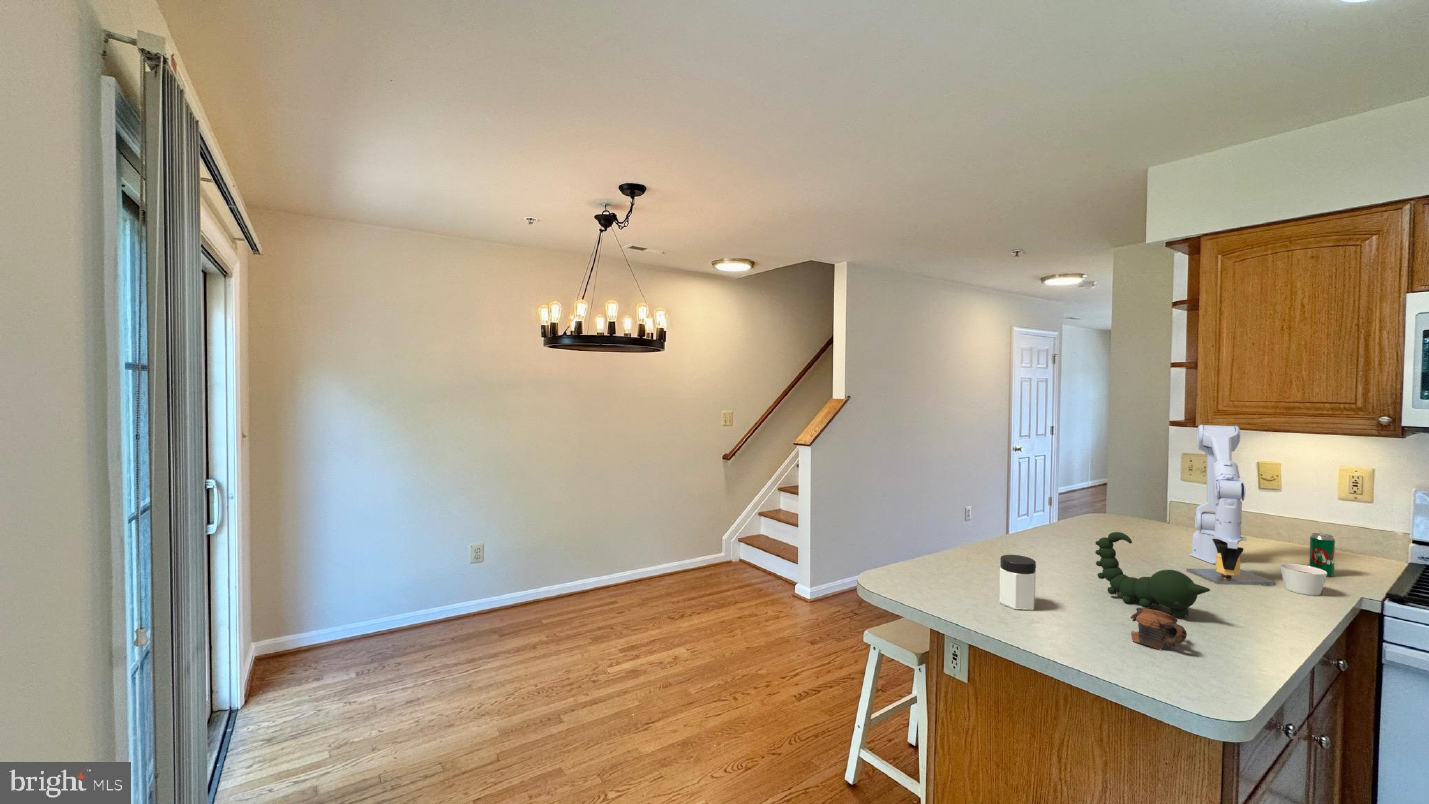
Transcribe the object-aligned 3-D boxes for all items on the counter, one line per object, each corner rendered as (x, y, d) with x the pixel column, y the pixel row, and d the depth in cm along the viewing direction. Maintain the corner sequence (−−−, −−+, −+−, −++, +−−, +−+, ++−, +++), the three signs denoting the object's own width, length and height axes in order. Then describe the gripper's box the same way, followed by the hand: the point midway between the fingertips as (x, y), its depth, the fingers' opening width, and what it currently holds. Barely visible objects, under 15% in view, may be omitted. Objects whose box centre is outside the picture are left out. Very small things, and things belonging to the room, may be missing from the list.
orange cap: (1217, 573, 163) (1218, 556, 163) (1214, 568, 167) (1215, 551, 167) (1241, 576, 160) (1241, 559, 160) (1237, 571, 164) (1237, 554, 164)
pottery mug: (1116, 638, 128) (1122, 602, 130) (1149, 654, 129) (1154, 618, 131) (1168, 648, 116) (1173, 609, 119) (1204, 665, 117) (1209, 626, 120)
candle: (1315, 588, 156) (1316, 566, 156) (1334, 599, 148) (1335, 576, 148) (1272, 583, 160) (1273, 561, 160) (1289, 594, 152) (1289, 571, 152)
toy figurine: (1091, 600, 152) (1201, 629, 130) (1086, 531, 153) (1194, 546, 131) (1113, 595, 156) (1223, 621, 133) (1108, 527, 157) (1216, 542, 134)
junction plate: (1186, 571, 171) (1186, 558, 171) (1241, 571, 170) (1241, 559, 170) (1216, 583, 160) (1216, 570, 160) (1275, 584, 159) (1275, 571, 159)
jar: (1043, 607, 144) (1044, 561, 143) (1023, 613, 140) (1023, 566, 140) (1012, 596, 152) (1012, 552, 151) (991, 601, 148) (992, 556, 148)
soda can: (1322, 571, 170) (1323, 532, 170) (1339, 577, 165) (1340, 537, 165) (1304, 571, 170) (1305, 532, 170) (1320, 576, 165) (1321, 536, 165)
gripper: (1252, 528, 155) (1251, 576, 155) (1240, 517, 167) (1239, 562, 167) (1219, 524, 159) (1217, 572, 159) (1209, 514, 171) (1208, 558, 171)
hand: (1226, 567), depth 164 cm, fingers closed on orange cap, 5 cm apart
